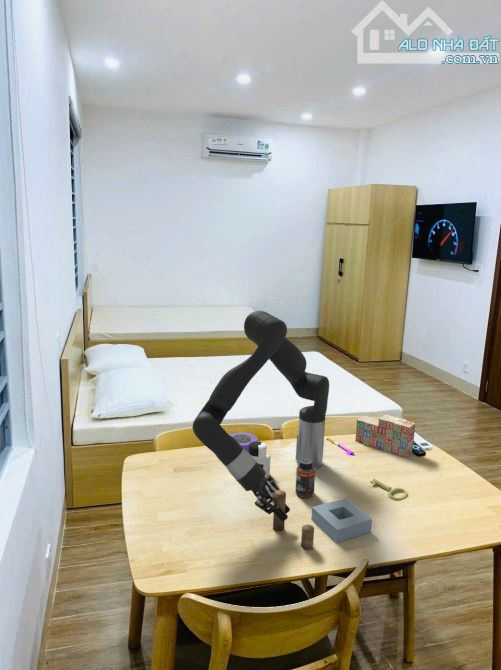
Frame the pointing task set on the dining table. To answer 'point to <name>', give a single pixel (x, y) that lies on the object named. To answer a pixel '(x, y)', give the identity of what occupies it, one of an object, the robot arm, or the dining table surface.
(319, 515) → the collar block
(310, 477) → the supplement bottle
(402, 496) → the key
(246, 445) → the tape roll
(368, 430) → the stack of blocks
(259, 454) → the medicine bottle
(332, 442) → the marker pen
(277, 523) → the walnut pin tall
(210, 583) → the dining table surface
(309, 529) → the walnut pin short
